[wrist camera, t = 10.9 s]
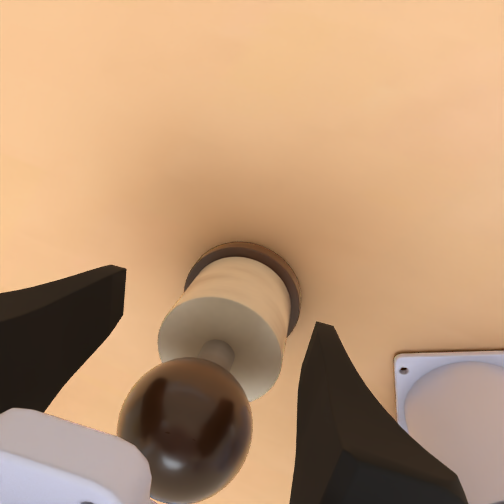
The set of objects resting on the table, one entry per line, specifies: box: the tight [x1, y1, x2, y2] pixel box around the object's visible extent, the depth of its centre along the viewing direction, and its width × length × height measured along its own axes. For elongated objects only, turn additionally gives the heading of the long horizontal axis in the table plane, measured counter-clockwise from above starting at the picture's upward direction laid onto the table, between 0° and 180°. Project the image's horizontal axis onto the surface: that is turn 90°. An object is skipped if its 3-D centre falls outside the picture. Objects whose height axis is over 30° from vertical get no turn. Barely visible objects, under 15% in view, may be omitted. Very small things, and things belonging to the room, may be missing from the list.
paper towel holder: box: [117, 242, 301, 504], centre depth 18 cm, size 7×7×13 cm
